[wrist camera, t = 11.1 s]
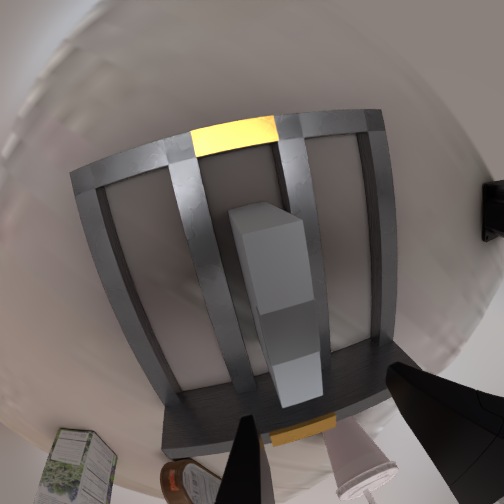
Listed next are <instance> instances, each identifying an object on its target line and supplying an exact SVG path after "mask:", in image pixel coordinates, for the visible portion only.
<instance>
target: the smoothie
mask: <svg viewBox="0 0 504 504" xmlns="http://www.w3.org/2000/svg"><path fill="white" fill-rule="evenodd" d="M322 433H323V437H324V440H325V444H326V447H327V451H328V454H329V458H330V462H331V465H332V469H333V472H334V476H335V480H336V483H337V487H338V489H337V491H336V494H337V495H338V497H339V499H340V500H351V499H354V498H357V497H360V496H362V495H365V496H366V498H367V500H368V502H369V504H376V503H375V501H374V499H373V497H372V495H371V493H370V492H371V491H373V490H375V489H377V488H379V487H380V486H382V485H383V484H385V483H386V482H388V481H389V480H390V479H391V478H392V477H394V475H396V473H397V472H398V470H399V469H398V467H397V465H396V462H394V461H390V460H389V459H388V458H387V457H386V456H385V454H384V453H383V452H382V451H381V450H380V449H379V447H377V445H376V444H375V443H374V442H373V440H372V439H371V438H370V437H369V436H368V435H367V433H366V432H365V431H364V430H363V429H362V427H361V426H360V425H359V424H358V423H357V421H356V420H355V419H354V418H353V417H352V416H350V417H347V418H345V419H342V420H340V421H337V422H336V427H334V428H332V429H329V430H326V431H323V432H322Z"/></svg>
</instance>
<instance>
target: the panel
mask: <svg viewBox="0 0 504 504" xmlns="http://www.w3.org/2000/svg"><path fill="white" fill-rule="evenodd" d="M227 211H228V215H229V220H230V224H231V228H232V232H233V237H234V241H235V245H236V249H237V253H238V257H239V262H240V266H241V270H242V274H243V278H244V282H245V286H246V290H247V294H248V298H249V302H250V306H251V310H252V314H253V318H254V322H255V326H256V330H257V334H258V338H259V342H260V345H261V348H262V351H263V354H264V357H265V360H266V362H267V365H268V368H269V371H270V374H271V377H272V380H273V383H274V386H275V388H276V391H277V394H278V397H279V400H280V403H281V406H282V408H285V407H288V406H292V405H295V404H298V403H301V402H304V401H307V400H310V399H313V398H316V397H319V396H322V395H323V387H322V373H321V361H320V351H321V350H320V339H319V329H318V320H317V311H316V302H315V298H314V295H313V287H312V279H311V272H310V265H309V258H308V251H307V244H306V238H305V232H304V225H303V220H301V219H299V218H297V217H296V216H294V215H292V214H290V213H288V212H286V211H284V210H282V209H280V208H278V207H276V206H274V205H272V204H270V203H267V202H265V201H263V202H259V203H255V204H250V205H246V206H242V207H238V208H234V209H229V210H227Z"/></svg>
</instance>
